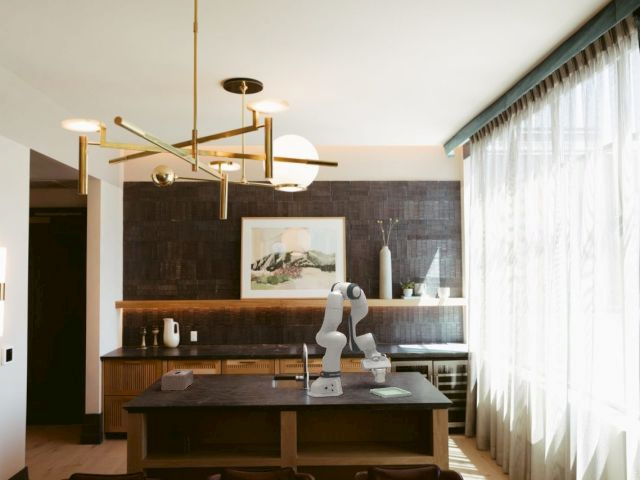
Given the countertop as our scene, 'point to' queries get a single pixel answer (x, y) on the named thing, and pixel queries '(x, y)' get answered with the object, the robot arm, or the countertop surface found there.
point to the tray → (390, 392)
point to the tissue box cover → (177, 380)
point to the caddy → (380, 375)
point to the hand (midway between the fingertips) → (380, 375)
